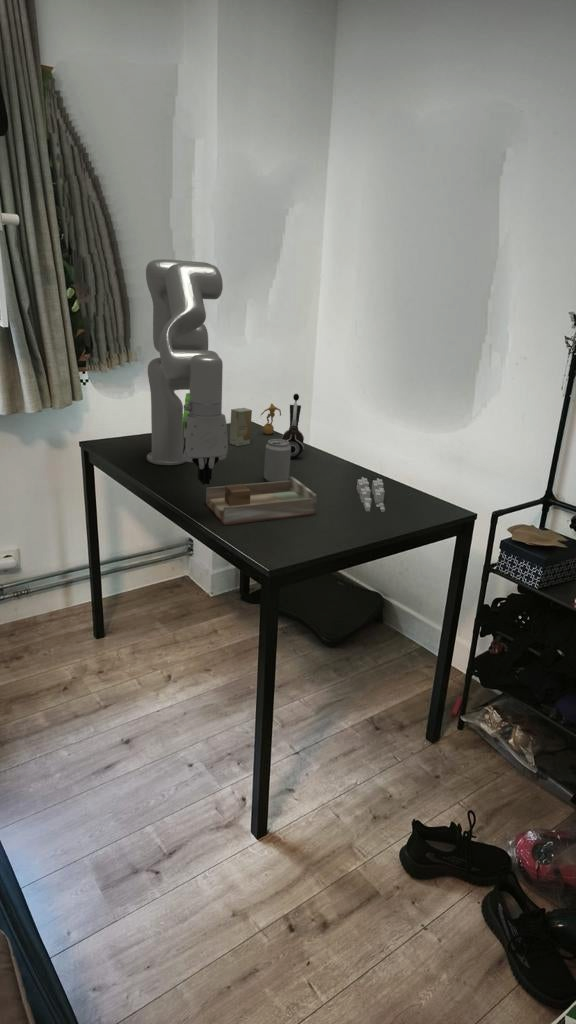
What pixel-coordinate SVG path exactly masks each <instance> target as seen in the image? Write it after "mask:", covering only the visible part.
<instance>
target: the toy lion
mask: <svg viewBox="0 0 576 1024" xmlns="http://www.w3.org/2000/svg"><path fill="white" fill-rule="evenodd" d="M189 401H190V392H186V393H185V399H184V405H187V404H188V403H189ZM189 413H190V412H189V411H187V410H184V409H183V438H184V428H185V422H186V417H187V414H189Z"/></svg>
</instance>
